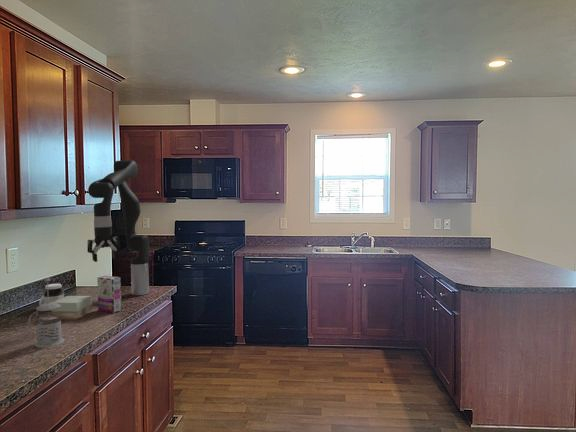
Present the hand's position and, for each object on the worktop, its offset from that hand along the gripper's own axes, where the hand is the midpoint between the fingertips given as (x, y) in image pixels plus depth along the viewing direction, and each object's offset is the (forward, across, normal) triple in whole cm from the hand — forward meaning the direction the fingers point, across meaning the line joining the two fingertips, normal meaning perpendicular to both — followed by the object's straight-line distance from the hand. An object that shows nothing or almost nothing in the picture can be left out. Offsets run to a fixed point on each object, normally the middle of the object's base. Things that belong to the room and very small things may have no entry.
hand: (104, 260), depth 187 cm
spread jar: (+26, +14, -31) cm, 43 cm away
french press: (+25, +32, +20) cm, 45 cm away
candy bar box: (+26, -3, -4) cm, 26 cm away
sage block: (+22, +12, -10) cm, 27 cm away
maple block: (+26, +12, -10) cm, 30 cm away
